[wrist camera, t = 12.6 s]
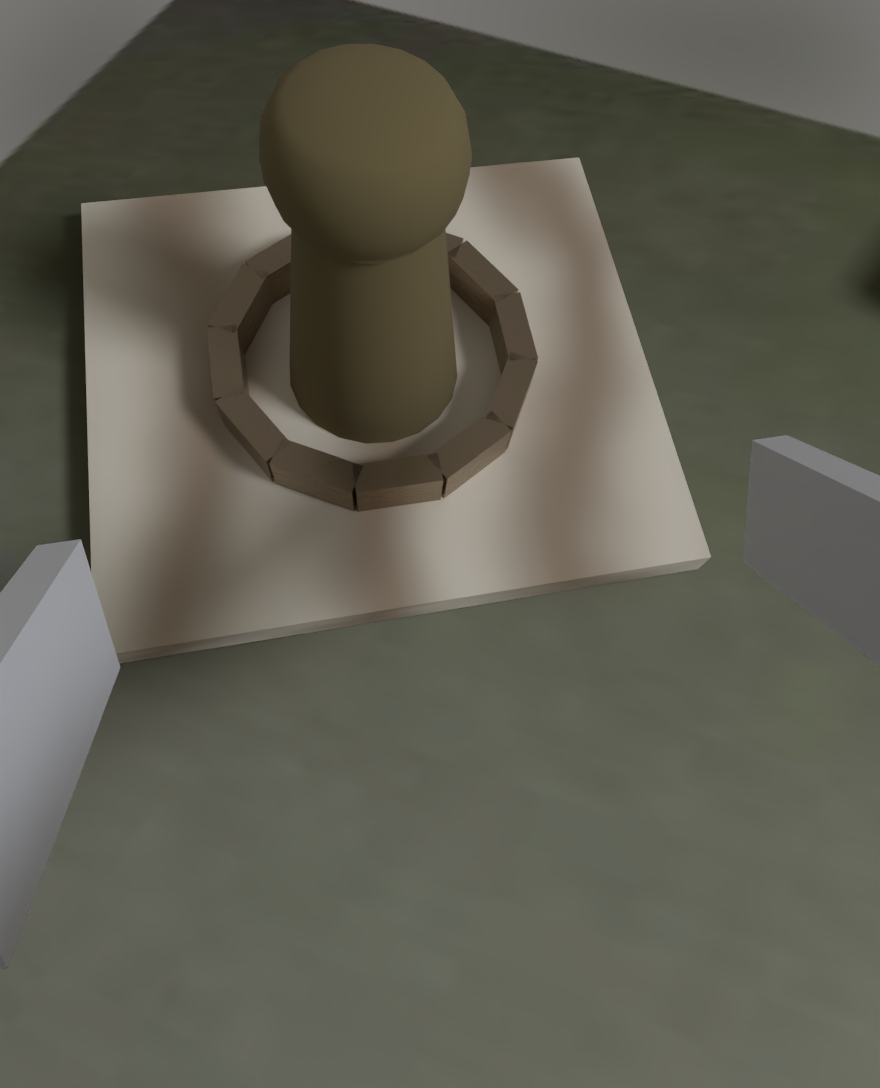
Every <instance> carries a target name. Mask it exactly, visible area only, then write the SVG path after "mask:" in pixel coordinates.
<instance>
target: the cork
mask: <svg viewBox="0 0 880 1088" xmlns="http://www.w3.org/2000/svg"><path fill="white" fill-rule="evenodd" d="M259 154H260V165H261V170H262V175H263V179H264V183H265V185H266V187H267V189H268V191H269V193H270V195H271V198H272V200H273V202H274V204H275V206H276V208H277V210H278V212H279V213H280V215H281V217H282V219H283V221H284V222H285V223H286V224H287V225H288V226H289V227H290V228H291V286H290V386H291V388H292V390H293V393H294V395H295V397H296V400H297V402H298V404H299V407H300V408H301V409H302V410H303V411H304V412H305V413H306V414H307V415H308V416H309V417H310V418H311V420H312V421H313V422H314V423H315V424H316V425H317V426H319V427H321V428H323V429H325V430H327V431H328V432H330V433H332V434H334V435H336V436H337V437H339V438H343V439H348V440H352V441H357V442H361V443H366V444H368V443H385V442H395V441H398V440H400V439H403V438H406V437H409V436H412V435H414V434H417V433H419V432H421V431H422V430H423V429H425V428H426V427H427V426H429V425H430V424H431V423H433V422H434V421H435V420H437V419H438V418H439V417H440V415H441V414H442V412H443V411H444V409H445V408H446V407H447V405H448V404H449V402H450V401H451V399H452V397H453V392H454V388H455V384H456V380H457V365H456V353H455V341H454V328H453V316H452V303H451V291H450V279H449V266H448V254H447V241H446V227H447V226H448V225H449V223H450V222H451V221H452V219H453V218H454V217H455V215H456V213H457V211H458V209H459V207H460V205H461V202H462V200H463V197H464V194H465V190H466V186H467V182H468V179H469V174H470V167H471V160H472V152H471V146H470V139H469V133H468V127H467V120H466V114H465V111H464V110H463V108H462V106H461V105H460V103H459V101H458V100H457V98H456V96H455V95H454V93H453V91H452V90H451V88H450V86H449V85H448V83H447V81H446V80H445V78H444V77H443V76H442V75H441V74H440V73H439V72H437V71H436V70H435V69H434V68H433V67H432V66H430V65H429V64H428V63H427V62H426V61H424V60H422V59H420V58H418V57H416V56H413V55H411V54H409V53H407V52H405V51H403V50H401V49H396V48H391V47H386V46H381V45H377V44H343V45H339V46H335V47H331V48H326V49H322V50H318V51H316V52H314V53H312V54H310V55H309V56H307V57H305V58H303V59H301V60H299V61H297V62H296V63H294V64H293V65H292V66H291V67H290V68H289V69H288V70H287V72H286V73H285V74H284V75H283V76H282V77H281V78H280V79H279V80H278V81H277V83H276V85H275V87H274V89H273V91H272V92H271V94H270V97H269V99H268V101H267V104H266V106H265V109H264V111H263V113H262V116H261V122H260V132H259Z"/></svg>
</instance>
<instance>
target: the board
mask: <svg viewBox="0 0 880 1088" xmlns="http://www.w3.org/2000/svg"><path fill="white" fill-rule="evenodd" d="M81 215H82V252H83V288H84V325H85V362H86V398H87V435H88V471H89V508H90V544H91V574H92V577H93V580H94V583H95V587H96V590H97V593H98V596H99V600H100V603H101V606H102V609H103V613H104V616H105V619H106V622H107V626H108V629H109V632H110V635H111V639H112V642H113V645H114V648H115V652H116V655H117V658H118V661H119V664H120V663H126V662H133V661H139V660H145V659H151V658H157V657H163V656H169V655H175V654H181V653H188V652H194V651H200V650H206V649H212V648H218V647H224V646H230V645H236V644H243V643H249V642H255V641H261V640H267V639H273V638H279V637H285V636H291V635H298V634H304V633H310V632H316V631H322V630H328V629H334V628H340V627H346V626H353V625H359V624H365V623H371V622H377V621H383V620H389V619H395V618H401V617H408V616H414V615H420V614H426V613H432V612H438V611H444V610H450V609H457V608H463V607H469V606H475V605H481V604H487V603H493V602H499V601H505V600H512V599H518V598H524V597H530V596H536V595H542V594H548V593H554V592H560V591H567V590H573V589H579V588H585V587H591V586H597V585H603V584H609V583H615V582H622V581H628V580H634V579H640V578H646V577H652V576H658V575H664V574H670V573H677V572H683V571H689V570H695V569H698V568H700V567H701V566H702V565H703V564H704V563H705V562H706V561H707V560H709V559H710V558H711V555H710V552H709V549H708V546H707V543H706V540H705V537H704V534H703V531H702V528H701V525H700V522H699V519H698V516H697V513H696V510H695V507H694V504H693V501H692V498H691V495H690V492H689V489H688V486H687V483H686V480H685V477H684V474H683V471H682V468H681V465H680V461H679V458H678V455H677V452H676V449H675V446H674V443H673V440H672V437H671V434H670V431H669V428H668V425H667V422H666V419H665V416H664V413H663V410H662V407H661V404H660V401H659V398H658V395H657V392H656V389H655V386H654V383H653V380H652V377H651V374H650V371H649V368H648V365H647V362H646V359H645V356H644V353H643V350H642V347H641V343H640V340H639V337H638V334H637V331H636V328H635V325H634V322H633V319H632V316H631V313H630V310H629V307H628V304H627V301H626V298H625V295H624V292H623V289H622V286H621V283H620V280H619V277H618V274H617V271H616V268H615V265H614V262H613V259H612V256H611V253H610V250H609V247H608V244H607V241H606V238H605V235H604V232H603V229H602V226H601V222H600V219H599V216H598V213H597V210H596V207H595V204H594V201H593V198H592V195H591V192H590V189H589V186H588V183H587V180H586V177H585V174H584V171H583V168H582V165H581V162H580V159H579V158H569V159H558V160H547V161H536V162H525V163H514V164H503V165H493V166H482V167H471V168H470V174H469V179H468V182H467V186H466V190H465V194H464V197H463V200H462V202H461V205H460V207H459V209H458V211H457V213H456V215H455V217H454V218H453V219H452V221H451V222H450V223H449V225H448V226H447V227H446V233H449V234H452V235H455V236H458V237H461V238H464V240H463V242H465V241H466V240H467V241H468V242H469V243H470V244H471V245H472V246H474V247H475V248H476V249H477V250H478V251H479V252H480V253H481V254H482V255H483V256H484V257H485V258H486V259H487V260H488V261H489V262H490V263H491V264H492V265H493V266H495V267H496V268H497V269H498V270H499V271H500V272H501V273H502V274H503V275H504V276H505V277H506V278H507V279H508V280H509V281H510V282H511V283H512V284H513V285H514V286H516V287H517V288H518V292H520V293H521V297H522V301H523V304H524V308H525V312H526V315H527V319H528V323H529V326H530V330H531V334H532V337H533V341H534V345H535V348H536V352H537V356H538V360H537V361H538V363H537V366H536V369H535V372H534V376H533V379H532V382H531V386H530V388H529V391H528V394H527V397H526V399H525V402H524V405H523V408H522V410H521V413H520V416H519V419H518V421H517V424H516V427H515V430H514V432H513V435H512V438H511V441H510V443H509V446H508V449H506V451H505V453H504V454H502V455H501V456H500V457H498V458H497V459H496V460H494V461H493V462H492V463H490V464H489V465H488V466H486V467H485V468H484V469H482V470H481V471H480V472H478V473H477V474H476V475H475V476H473V477H472V478H471V479H469V480H468V481H467V482H465V483H464V484H463V485H461V486H460V487H459V488H457V489H456V490H455V491H453V492H452V493H451V494H449V495H448V496H447V497H445V498H444V497H443V496H442V495H441V500H436V501H430V502H423V503H416V504H409V505H402V506H395V507H388V508H382V509H375V510H368V511H361V512H358V508H357V505H356V508H355V510H354V511H351V510H348V509H345V508H342V507H340V506H337V505H334V504H331V503H328V502H325V501H323V500H320V499H317V498H314V497H311V496H308V495H305V494H303V493H300V492H297V491H294V490H291V489H288V488H285V487H283V486H280V485H277V484H276V483H275V481H273V482H272V481H271V479H270V478H269V477H268V476H267V475H266V473H265V472H264V471H263V470H262V469H261V468H260V466H259V465H258V464H257V463H256V462H255V461H254V459H253V458H252V457H251V456H250V455H249V453H248V452H247V451H246V450H245V449H244V448H243V446H242V445H241V444H240V443H239V442H238V441H237V439H236V438H235V437H234V436H233V435H232V433H231V432H230V431H229V430H228V429H227V428H226V426H225V425H224V423H223V421H222V418H221V416H220V413H219V411H218V408H217V406H216V403H215V401H214V398H213V389H212V378H211V368H210V357H209V346H208V336H207V328H209V327H208V323H209V321H210V319H211V317H212V316H213V314H214V312H215V310H216V309H217V307H218V305H219V303H220V302H221V300H222V298H223V297H224V295H225V293H226V291H227V290H228V288H229V286H230V284H231V283H232V281H233V279H234V277H235V276H236V274H237V272H238V270H239V269H240V267H241V265H242V264H245V265H246V263H245V261H246V260H248V259H249V258H251V257H253V256H254V255H256V254H258V253H260V252H261V251H263V250H265V249H266V248H268V247H270V246H271V245H273V244H275V243H277V242H278V241H280V240H282V239H283V238H285V237H287V236H288V235H290V234H291V228H290V227H289V226H288V225H287V224H286V223H285V222H284V221H283V219H282V217H281V215H280V213H279V212H278V210H277V208H276V206H275V204H274V202H273V200H272V198H271V195H270V193H269V191H268V189H267V187H266V186H265V187H254V188H243V189H232V190H221V191H211V192H200V193H189V194H178V195H167V196H156V197H145V198H135V199H124V200H113V201H102V202H91V203H81ZM450 291H451V303H452V316H453V328H454V341H455V353H456V365H457V380H456V384H455V388H454V392H453V397H452V399H451V401H450V402H449V404H448V405H447V407H446V408H445V409H444V411H443V412H442V414H441V415H440V417H439V418H438V419H437V420H435V421H434V422H433V423H431V424H430V425H429V426H427V427H426V428H425V429H423V430H422V431H421V432H419V433H417V434H414V435H412V436H409V437H406V438H403V439H400V440H398V441H395V442H385V443H368V444H366V443H361V442H357V441H352V440H348V439H343V438H339V437H337V436H336V435H334V434H332V433H330V432H328V431H327V430H325V429H323V428H321V427H319V426H317V425H316V424H315V423H314V422H313V421H312V420H311V418H310V417H309V416H308V415H307V414H306V413H305V412H304V411H303V410H302V409H301V408H300V407H299V404H298V402H297V400H296V397H295V395H294V393H293V390H292V388H291V386H290V294H288V295H287V296H285V297H283V298H282V299H280V300H278V301H277V302H275V303H274V304H272V306H271V308H270V310H269V312H268V313H267V315H266V317H265V319H264V321H263V323H262V324H261V326H260V328H259V330H258V332H257V334H256V336H255V337H254V339H253V341H252V343H251V345H250V347H249V348H248V350H247V352H246V354H245V360H246V369H247V378H248V387H249V396H250V397H251V398H252V399H253V400H254V402H255V403H256V404H257V405H258V406H259V407H260V408H261V410H262V411H263V412H264V413H265V414H266V415H267V416H268V418H269V419H270V420H271V421H272V422H273V423H274V424H275V426H276V427H277V428H278V429H279V430H280V431H281V432H282V434H283V435H284V436H285V437H286V438H287V439H288V440H290V441H293V442H296V443H299V444H302V445H305V446H307V447H310V448H313V449H316V450H319V451H322V452H325V453H328V454H331V455H333V456H336V457H339V458H342V459H345V460H348V461H351V462H354V463H357V464H361V463H368V462H375V461H383V460H390V459H397V458H404V457H412V456H419V455H426V454H432V453H433V452H435V451H436V450H438V449H439V448H440V447H442V446H443V445H444V444H446V443H447V442H448V441H450V440H451V439H453V438H454V437H455V436H457V435H458V434H459V433H461V432H462V431H464V430H465V429H466V428H468V427H469V426H470V425H472V424H473V423H474V422H476V421H477V420H479V419H480V418H481V417H483V416H484V415H485V414H487V412H488V409H489V407H490V404H491V402H492V399H493V396H494V394H495V391H496V388H497V386H498V383H499V381H500V378H501V372H500V368H499V364H498V360H497V356H496V352H495V348H494V344H493V340H492V336H491V332H490V328H489V326H488V325H487V324H486V323H485V322H484V321H483V320H482V319H481V318H480V317H479V316H478V315H477V314H476V313H475V312H474V311H473V310H472V309H471V308H470V307H469V306H468V305H467V304H466V303H465V302H464V301H463V300H462V299H461V298H460V297H459V296H458V295H457V294H456V293H455V292H454V291H453V290H452V289H451V288H450Z"/></svg>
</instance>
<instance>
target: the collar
mask: <svg viewBox="0 0 880 1088" xmlns="http://www.w3.org/2000/svg"><path fill="white" fill-rule="evenodd" d="M463 240H464V238H461V237H458V236H455V235H452V234H449V233H446V241H447V254H448V266H449V279H450V288H451V289H452V290H453V291H454V292H455V293H456V294H457V295H458V296H459V297H460V298H461V299H462V300H463V301H464V302H465V303H466V304H467V305H468V306H469V307H470V308H471V309H472V310H473V311H474V312H475V313H476V314H477V315H478V316H479V317H480V318H481V319H482V320H483V321H484V322H485V323H486V324H487V325H488V326H489V328H490V332H491V336H492V340H493V344H494V348H495V352H496V356H497V360H498V364H499V368H500V372H501V378H500V381H499V383H498V386H497V388H496V391H495V394H494V396H493V399H492V402H491V404H490V407H489V409H488V412H487V414H485V415H484V416H483V417H481V418H480V419H479V420H477V421H476V422H474V423H473V424H472V425H470V426H469V427H468V428H466V429H465V430H464V431H462V432H461V433H459V434H458V435H457V436H455V437H454V438H453V439H451V440H450V441H448V442H447V443H446V444H444V445H443V446H442V447H440V448H439V449H438V450H436V451H435V452H433V453H432V454H426V455H419V456H412V457H404V458H397V459H390V460H383V461H375V462H368V463H361V464H357V463H354V462H351V461H348V460H345V459H342V458H339V457H336V456H333V455H331V454H328V453H325V452H322V451H319V450H316V449H313V448H310V447H307V446H305V445H302V444H299V443H296V442H293V441H290V440H288V439H287V438H286V437H285V436H284V435H283V434H282V432H281V431H280V430H279V429H278V428H277V427H276V426H275V424H274V423H273V422H272V421H271V420H270V419H269V418H268V416H267V415H266V414H265V413H264V412H263V411H262V410H261V408H260V407H259V406H258V405H257V404H256V403H255V402H254V400H253V399H252V398H251V397H250V396H249V387H248V378H247V369H246V360H245V354H246V352H247V350H248V348H249V347H250V345H251V343H252V341H253V339H254V337H255V336H256V334H257V332H258V330H259V328H260V326H261V324H262V323H263V321H264V319H265V317H266V315H267V313H268V312H269V310H270V308H271V306H272V304H274V303H275V302H277V301H278V300H280V299H282V298H283V297H285V296H287V295H288V294H290V286H291V234H290V235H288V236H287V237H285V238H283V239H282V240H280V241H278V242H277V243H275V244H273V245H271V246H270V247H268V248H266V249H265V250H263V251H261V252H260V253H258V254H256V255H254V256H253V257H251V258H249V259H248V260H246V261H245V263H246V265H245V264H242V265H241V267H240V269H239V270H238V272H237V274H236V276H235V277H234V279H233V281H232V283H231V284H230V286H229V288H228V290H227V291H226V293H225V295H224V297H223V298H222V300H221V302H220V303H219V305H218V307H217V309H216V310H215V312H214V314H213V316H212V317H211V319H210V321H209V323H208V327H209V328H207V336H208V346H209V357H210V368H211V378H212V389H213V398H214V401H215V403H216V406H217V408H218V411H219V413H220V416H221V418H222V421H223V423H224V425H225V426H226V428H227V429H228V430H229V431H230V432H231V433H232V435H233V436H234V437H235V438H236V439H237V441H238V442H239V443H240V444H241V445H242V446H243V448H244V449H245V450H246V451H247V452H248V453H249V455H250V456H251V457H252V458H253V459H254V461H255V462H256V463H257V464H258V465H259V466H260V468H261V469H262V470H263V471H264V472H265V473H266V475H267V476H268V477H269V478H270V479H271V481H272V482H273V481H275V483H276V484H277V485H280V486H283V487H285V488H288V489H291V490H294V491H297V492H300V493H303V494H305V495H308V496H311V497H314V498H317V499H320V500H323V501H325V502H328V503H331V504H334V505H337V506H340V507H342V508H345V509H348V510H351V511H354V510H355V508H356V505H357V508H358V512H361V511H368V510H375V509H382V508H388V507H395V506H402V505H409V504H416V503H423V502H430V501H436V500H441V495H442V496H443V497H444V498H445V497H447V496H448V495H449V494H451V493H452V492H453V491H455V490H456V489H457V488H459V487H460V486H461V485H463V484H464V483H465V482H467V481H468V480H469V479H471V478H472V477H473V476H475V475H476V474H477V473H478V472H480V471H481V470H482V469H484V468H485V467H486V466H488V465H489V464H490V463H492V462H493V461H494V460H496V459H497V458H498V457H500V456H501V455H502V454H504V453H505V451H506V449H508V446H509V443H510V441H511V438H512V435H513V432H514V430H515V427H516V424H517V421H518V419H519V416H520V413H521V410H522V408H523V405H524V402H525V399H526V397H527V394H528V391H529V388H530V386H531V382H532V379H533V376H534V372H535V369H536V366H537V363H538V361H537V360H538V356H537V352H536V348H535V345H534V341H533V337H532V334H531V330H530V326H529V323H528V319H527V315H526V312H525V308H524V304H523V301H522V297H521V293H520V292H518V288H517V287H516V286H514V285H513V284H512V283H511V282H510V281H509V280H508V279H507V278H506V277H505V276H504V275H503V274H502V273H501V272H500V271H499V270H498V269H497V268H496V267H495V266H493V265H492V264H491V263H490V262H489V261H488V260H487V259H486V258H485V257H484V256H483V255H482V254H481V253H480V252H479V251H478V250H477V249H476V248H475V247H474V246H472V245H471V244H470V243H469V242H468V241H467V240H466V241H465V242H463Z"/></svg>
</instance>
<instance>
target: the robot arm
mask: <svg viewBox="0 0 880 1088" xmlns="http://www.w3.org/2000/svg"><path fill="white" fill-rule="evenodd" d="M743 563H744V564H745V565H747V566H748V567H749V568H751V569H752V570H753V571H755V572H756V573H757V574H759V575H760V576H761V577H762V578H764V579H765V580H766V581H768V582H769V583H770V584H772V585H773V586H774V587H776V588H777V589H778V590H780V591H781V592H782V593H784V594H785V595H786V596H787V597H789V598H790V599H791V600H793V601H794V602H795V603H797V604H798V605H799V606H801V607H802V608H803V609H805V610H806V611H807V612H809V613H810V614H811V615H812V616H814V617H815V618H816V619H818V620H819V621H820V622H822V623H823V624H824V625H826V626H827V627H828V628H830V629H831V630H832V631H833V632H835V633H836V634H837V635H839V636H840V637H841V638H843V639H844V640H845V641H847V642H848V643H849V644H851V645H852V646H853V647H855V648H856V649H857V650H858V651H860V652H861V653H862V654H864V655H865V656H866V657H868V658H869V659H870V660H872V661H873V662H874V663H876V664H877V665H878V666H880V476H879V475H877V474H874V473H872V472H870V471H868V470H865V469H863V468H861V467H858V466H856V465H854V464H852V463H849V462H847V461H845V460H842V459H840V458H838V457H836V456H833V455H831V454H829V453H826V452H824V451H822V450H820V449H817V448H815V447H813V446H810V445H808V444H806V443H804V442H801V441H799V440H797V439H794V438H792V437H790V436H788V435H785V436H778V437H772V438H765V439H758V440H752V449H751V462H750V474H749V487H748V500H747V513H746V525H745V538H744V551H743ZM119 670H120V665H119V661H118V658H117V655H116V652H115V648H114V645H113V642H112V639H111V635H110V632H109V629H108V626H107V622H106V619H105V616H104V613H103V609H102V606H101V603H100V600H99V596H98V593H97V590H96V587H95V583H94V580H93V577H92V574H91V570H90V567H89V564H88V561H87V557H86V554H85V551H84V548H83V544H82V541H81V539H78V540H71V541H65V542H58V543H51V544H44V545H37V546H36V547H35V548H34V550H33V551H32V552H31V554H30V555H29V556H28V558H27V559H26V560H25V561H24V563H23V564H22V565H21V567H20V568H19V569H18V571H17V572H16V573H15V574H14V576H13V577H12V578H11V580H10V581H9V582H8V584H7V585H6V586H5V587H4V589H3V590H2V591H1V593H0V970H1V969H5V968H8V965H9V962H10V960H11V957H12V954H13V952H14V949H15V946H16V944H17V941H18V938H19V936H20V933H21V930H22V928H23V925H24V922H25V920H26V917H27V914H28V912H29V909H30V907H31V904H32V901H33V899H34V896H35V893H36V891H37V888H38V885H39V883H40V880H41V877H42V875H43V872H44V869H45V867H46V864H47V861H48V859H49V856H50V853H51V851H52V848H53V845H54V843H55V840H56V837H57V835H58V832H59V829H60V827H61V824H62V821H63V819H64V816H65V813H66V811H67V808H68V805H69V803H70V800H71V797H72V795H73V792H74V789H75V787H76V784H77V781H78V779H79V776H80V773H81V771H82V768H83V765H84V763H85V760H86V757H87V755H88V752H89V750H90V747H91V744H92V742H93V739H94V736H95V734H96V731H97V728H98V726H99V723H100V720H101V718H102V715H103V712H104V710H105V707H106V704H107V702H108V699H109V696H110V694H111V691H112V688H113V686H114V683H115V680H116V678H117V675H118V672H119Z"/></svg>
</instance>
